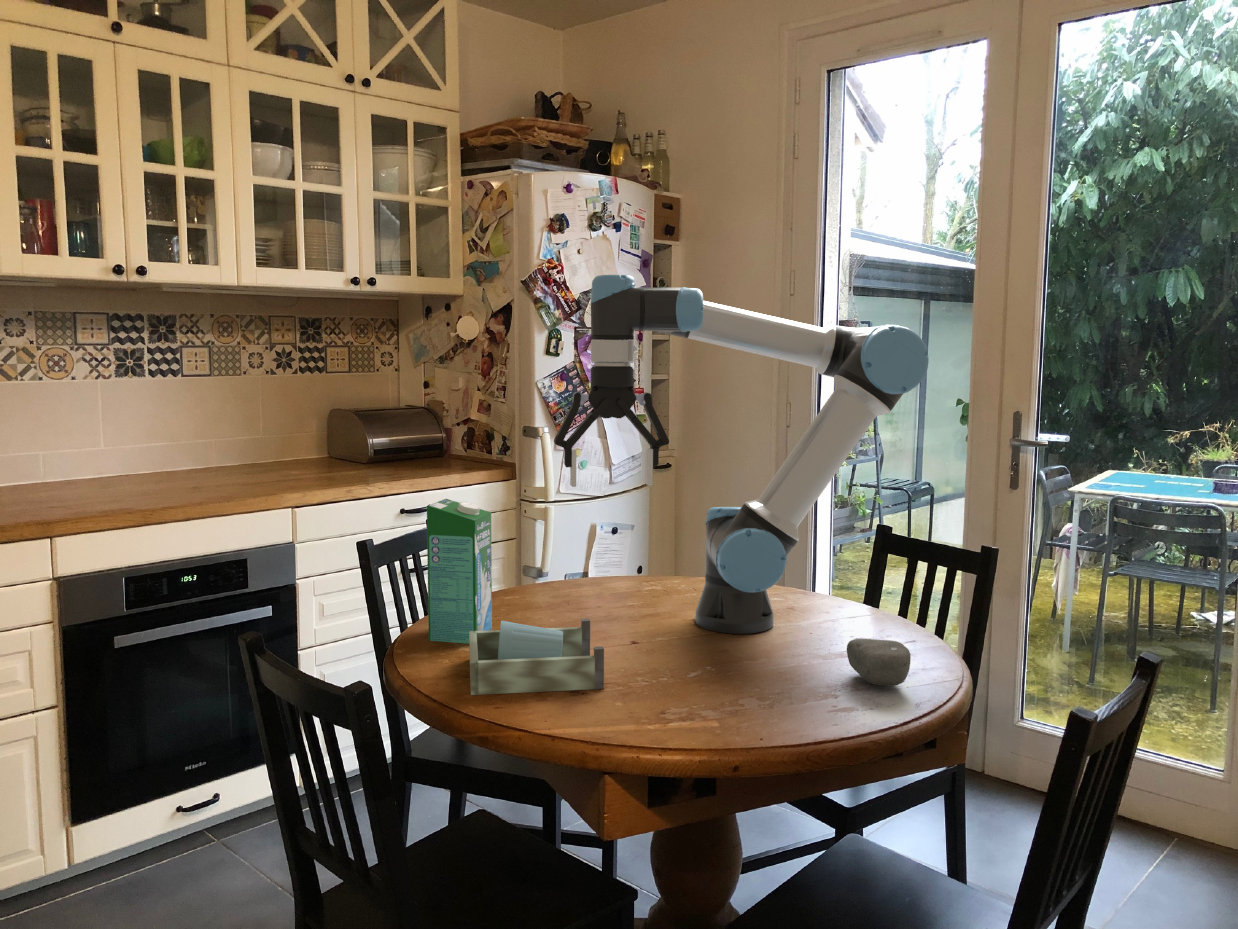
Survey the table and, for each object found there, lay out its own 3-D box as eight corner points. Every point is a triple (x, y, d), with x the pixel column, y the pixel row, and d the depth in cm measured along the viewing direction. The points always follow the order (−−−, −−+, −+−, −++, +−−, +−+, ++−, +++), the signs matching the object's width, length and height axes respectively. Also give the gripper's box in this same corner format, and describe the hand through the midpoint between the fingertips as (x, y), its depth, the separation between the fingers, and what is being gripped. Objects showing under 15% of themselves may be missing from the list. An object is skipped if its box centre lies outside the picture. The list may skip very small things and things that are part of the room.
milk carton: (475, 645, 174) (474, 507, 171) (428, 642, 176) (426, 505, 173) (492, 631, 183) (491, 499, 180) (446, 628, 184) (445, 497, 182)
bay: (588, 654, 169) (589, 618, 168) (603, 689, 152) (604, 649, 151) (469, 659, 165) (469, 623, 165) (470, 695, 148) (470, 654, 148)
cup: (562, 656, 156) (497, 652, 155) (559, 680, 162) (496, 676, 161) (564, 616, 161) (501, 611, 160) (561, 640, 167) (500, 637, 166)
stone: (897, 660, 162) (906, 620, 156) (907, 704, 155) (917, 664, 149) (842, 660, 163) (849, 620, 156) (850, 704, 156) (857, 663, 150)
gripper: (677, 365, 176) (675, 481, 178) (539, 364, 172) (539, 483, 174) (686, 365, 168) (684, 487, 171) (542, 364, 164) (542, 489, 167)
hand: (611, 485), depth 172 cm, fingers open, 13 cm apart
